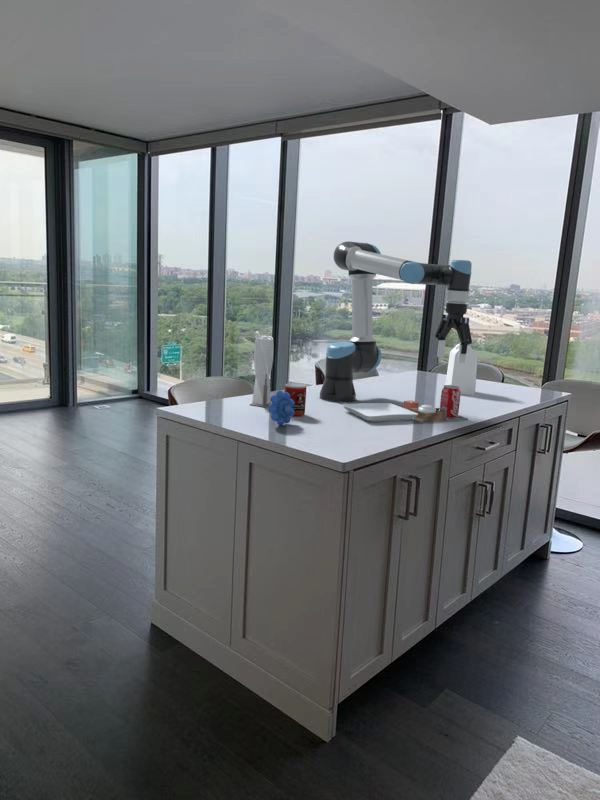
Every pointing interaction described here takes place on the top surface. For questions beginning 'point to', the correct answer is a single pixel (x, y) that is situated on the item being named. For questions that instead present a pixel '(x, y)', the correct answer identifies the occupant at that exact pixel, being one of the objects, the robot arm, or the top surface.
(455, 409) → the soda can
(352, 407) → the salad plate
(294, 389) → the canned food
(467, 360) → the milk
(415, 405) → the die
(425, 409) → the dome
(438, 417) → the base
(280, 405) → the grapes
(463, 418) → the track
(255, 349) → the skyscraper
